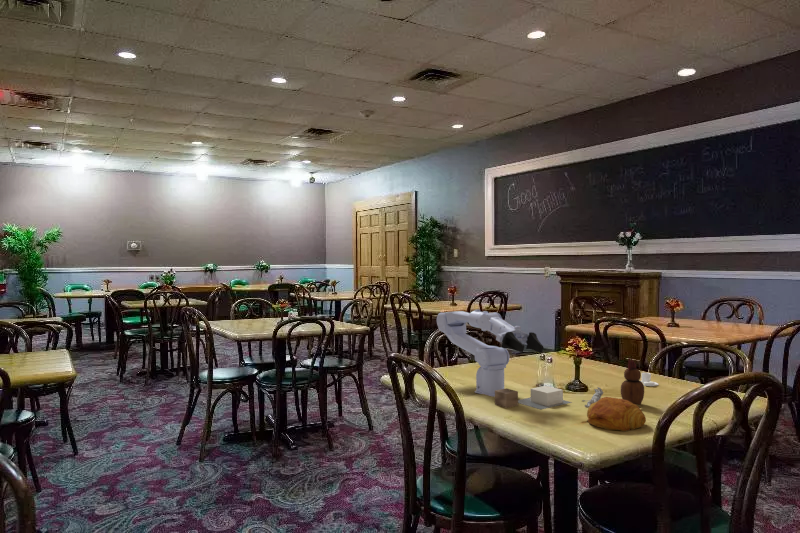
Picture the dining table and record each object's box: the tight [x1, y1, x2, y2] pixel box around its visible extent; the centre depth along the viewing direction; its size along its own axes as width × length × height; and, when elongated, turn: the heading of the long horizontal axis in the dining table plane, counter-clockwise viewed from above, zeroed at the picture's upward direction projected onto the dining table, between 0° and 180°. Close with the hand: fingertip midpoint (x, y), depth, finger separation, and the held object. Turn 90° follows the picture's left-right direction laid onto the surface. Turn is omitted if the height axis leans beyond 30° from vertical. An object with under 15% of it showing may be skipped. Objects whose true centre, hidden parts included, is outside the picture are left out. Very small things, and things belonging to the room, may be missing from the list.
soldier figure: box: [581, 386, 604, 408], centre depth 177 cm, size 8×5×12 cm
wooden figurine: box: [620, 356, 645, 406], centre depth 177 cm, size 7×6×15 cm
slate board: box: [518, 396, 573, 411], centre depth 179 cm, size 12×14×1 cm
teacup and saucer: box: [640, 372, 659, 387], centre depth 204 cm, size 9×8×4 cm
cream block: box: [530, 385, 564, 406], centre depth 179 cm, size 7×7×4 cm
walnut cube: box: [494, 388, 519, 409], centre depth 176 cm, size 5×5×5 cm
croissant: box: [586, 396, 647, 432], centre depth 157 cm, size 14×16×8 cm
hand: (532, 349), depth 174 cm, fingers open, 7 cm apart
